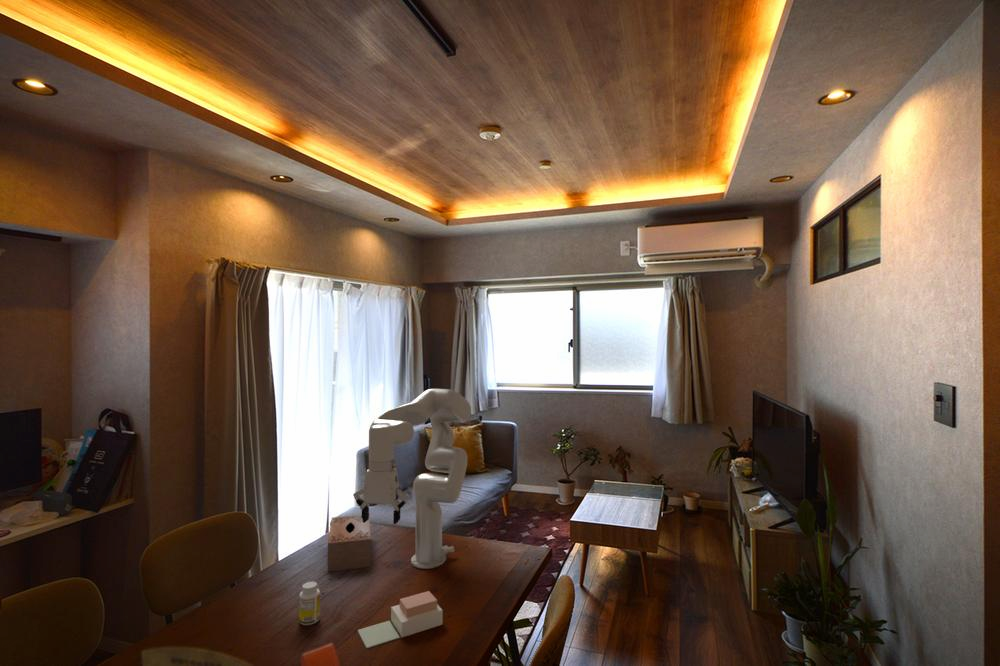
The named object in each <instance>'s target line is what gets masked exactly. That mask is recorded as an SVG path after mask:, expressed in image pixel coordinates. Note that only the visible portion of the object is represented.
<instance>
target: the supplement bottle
mask: <svg viewBox="0 0 1000 666" xmlns="http://www.w3.org/2000/svg"><path fill="white" fill-rule="evenodd" d="M301 587H302V588H301V591H300V592H299V597H298V600H299V603H298V604H299V606H298V607H299V611H298V614H299V617H298V618H299V620H298V621H299V623H300V624H301V625H303V626H311V625H314V624H317V623H318V622H319V620H320V618H321V591H320V589H319V588H318V583H317V581H308V582H305V583H304V584H302V586H301Z"/></svg>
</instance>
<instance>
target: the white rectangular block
mask: <svg viewBox="0 0 1000 666" xmlns="http://www.w3.org/2000/svg"><path fill="white" fill-rule="evenodd" d="M443 616H444V615H443V609H442V608H441V606H440V605H439V604H438V603H437V609H434V610H431V611H428V612H424V613H421V614H418V615H414V616H411V617H408V618H407V617H406V616H405V614H404V613H403V612H402V610H401V609H400V604H397V605H394V606H390V622H391V624H392V625H393V627H394V629H395V630H396V632H397V633H398V635H399V636H400V638H404V637H408V636H411V635H414V634H417V633H420V632H423V631H426V630H429V629H433V628H436V627H440V626H441V625H443Z"/></svg>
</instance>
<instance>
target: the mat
mask: <svg viewBox="0 0 1000 666" xmlns="http://www.w3.org/2000/svg"><path fill="white" fill-rule="evenodd" d="M357 633H358V635H359V637H360V639H361V640H362V643H363V645H364V647H365V649H370V648H373V647H376V646H380V645H382V644H385V643H389V642H392V641H394V640H398V639H401V636H400V634H399V633H398V631H397V630H396V628H395V626H394V625H393V623H392V622H391V620H386V621H383V622H379V623H376V624H374V625H373V624H372V625H370V626H366V627H363V628H359V629H357Z"/></svg>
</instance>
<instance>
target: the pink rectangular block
mask: <svg viewBox="0 0 1000 666" xmlns="http://www.w3.org/2000/svg"><path fill="white" fill-rule="evenodd" d="M437 604H438V599H437V598H436V597H435V595H433V594H432V593H431V592H430V590H427V591H423V592H420V593H416V594H413V595H410V596H405V597H402V598H399V605H400V609H401V610H402V612H403V613H404V614H405V616H406V617H407V618H408V617H411V616H414V615H418V614H421V613H424V612H428V611H431V610H434V609H437Z"/></svg>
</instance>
